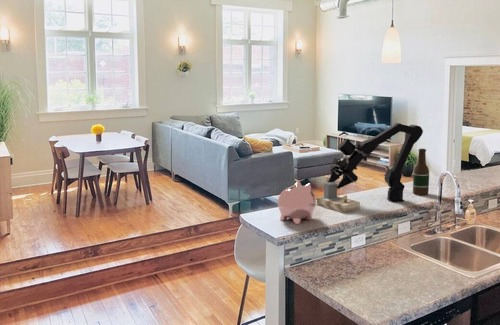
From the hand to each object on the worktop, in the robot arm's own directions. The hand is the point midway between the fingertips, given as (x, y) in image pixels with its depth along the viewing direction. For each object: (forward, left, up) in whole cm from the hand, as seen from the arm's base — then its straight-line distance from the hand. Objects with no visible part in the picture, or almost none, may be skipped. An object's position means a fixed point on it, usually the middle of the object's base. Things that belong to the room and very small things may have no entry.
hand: (332, 186), depth 232 cm
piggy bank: (+22, +21, -9) cm, 32 cm away
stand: (-1, +5, -9) cm, 10 cm away
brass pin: (-3, +9, -6) cm, 11 cm away
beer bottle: (-51, -11, -9) cm, 53 cm away
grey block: (+1, 0, -5) cm, 6 cm away
